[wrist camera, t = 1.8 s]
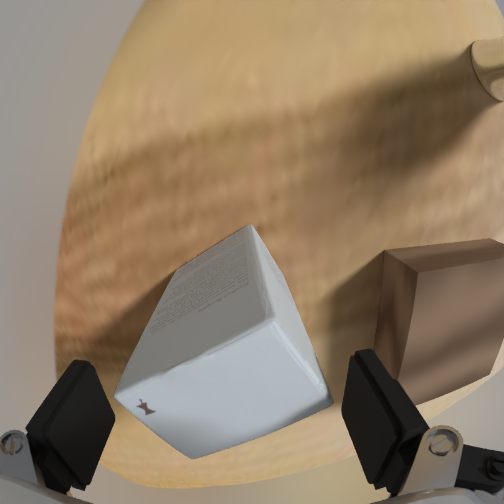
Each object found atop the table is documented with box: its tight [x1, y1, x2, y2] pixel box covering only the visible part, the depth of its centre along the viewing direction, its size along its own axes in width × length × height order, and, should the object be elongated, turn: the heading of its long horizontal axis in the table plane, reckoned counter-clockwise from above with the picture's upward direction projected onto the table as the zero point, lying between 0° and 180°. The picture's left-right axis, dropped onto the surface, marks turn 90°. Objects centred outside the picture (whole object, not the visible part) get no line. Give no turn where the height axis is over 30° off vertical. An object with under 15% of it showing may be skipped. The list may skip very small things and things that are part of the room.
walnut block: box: [373, 238, 504, 406], centre depth 19 cm, size 12×12×5 cm
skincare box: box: [114, 224, 333, 459], centre depth 13 cm, size 6×4×12 cm
